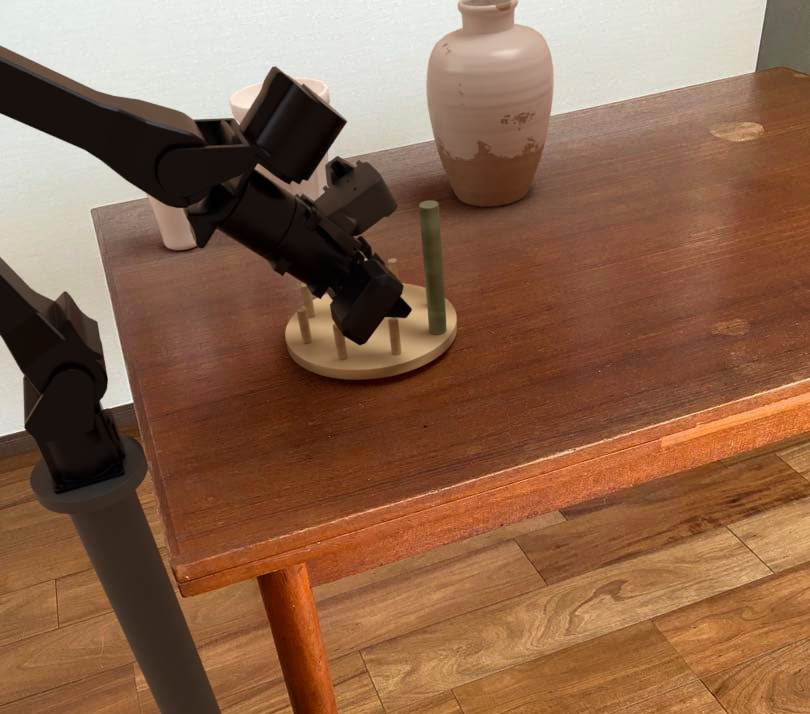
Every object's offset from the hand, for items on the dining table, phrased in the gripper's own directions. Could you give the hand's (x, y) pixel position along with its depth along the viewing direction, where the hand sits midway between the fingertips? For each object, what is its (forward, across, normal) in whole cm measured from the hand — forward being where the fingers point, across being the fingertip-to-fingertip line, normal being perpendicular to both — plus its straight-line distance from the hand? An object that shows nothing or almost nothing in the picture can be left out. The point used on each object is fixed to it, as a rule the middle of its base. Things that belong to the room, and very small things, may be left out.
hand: (408, 312), depth 84 cm
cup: (+5, +44, +4) cm, 45 cm away
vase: (+22, +36, -13) cm, 45 cm away
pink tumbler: (-6, +44, +16) cm, 47 cm away
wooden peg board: (+3, +8, +6) cm, 10 cm away
